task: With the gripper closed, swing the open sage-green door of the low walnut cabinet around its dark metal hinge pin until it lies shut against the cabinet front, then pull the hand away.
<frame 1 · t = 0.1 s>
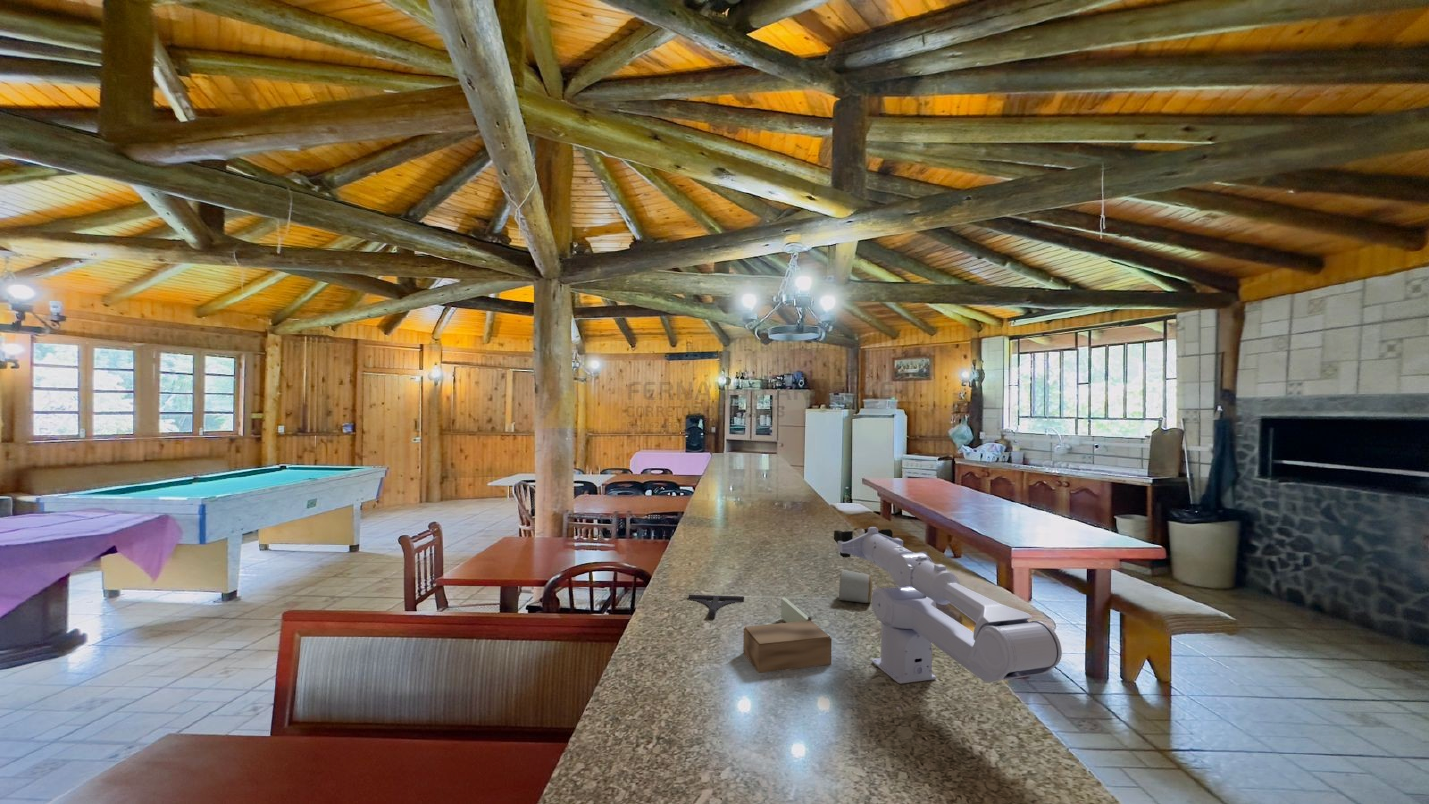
hand: (850, 534, 125), 22 cm above the countertop, tool horizontal, fingers open, 7 cm apart
cabinet: (786, 658, 110), on the countertop
door: (797, 618, 125), point 3 cm above the countertop, hinge at -90.0°
bracket: (713, 611, 138), on the countertop
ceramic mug: (854, 600, 146), on the countertop
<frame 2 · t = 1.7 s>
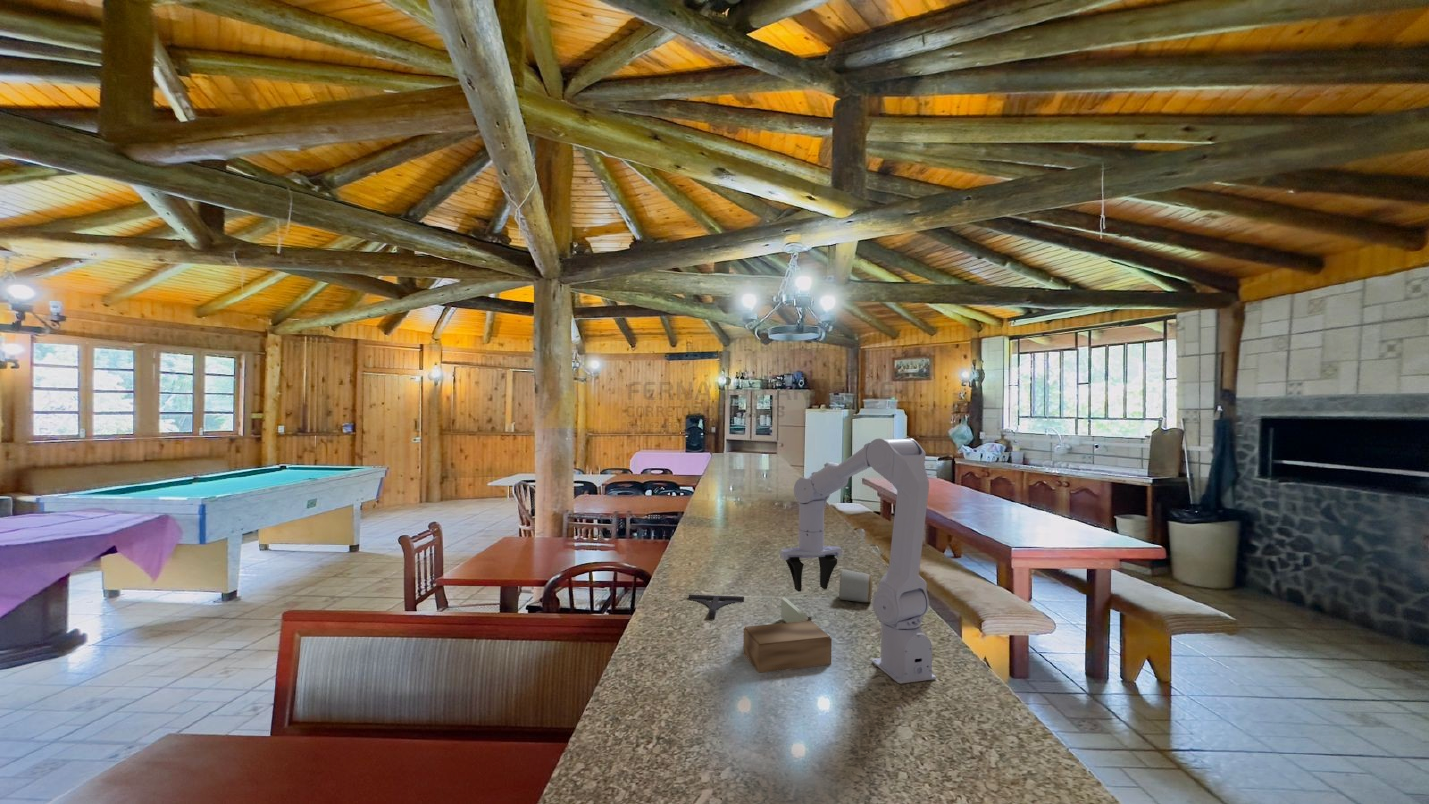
hand: (810, 589, 128), 8 cm above the countertop, tool pointing down, fingers open, 6 cm apart
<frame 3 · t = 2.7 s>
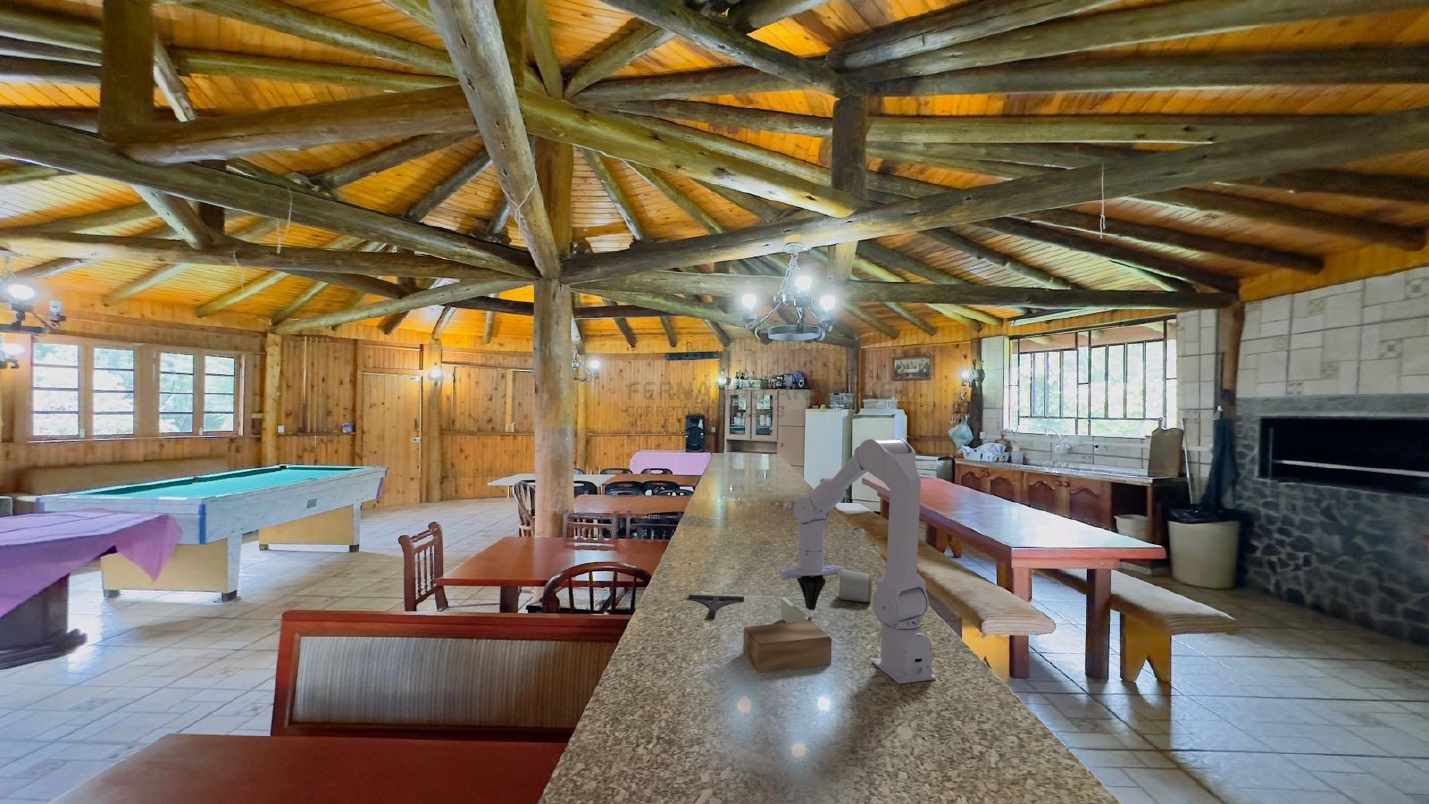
hand: (810, 608, 127), 4 cm above the countertop, tool pointing down, fingers closed
nothing on the countertop moved.
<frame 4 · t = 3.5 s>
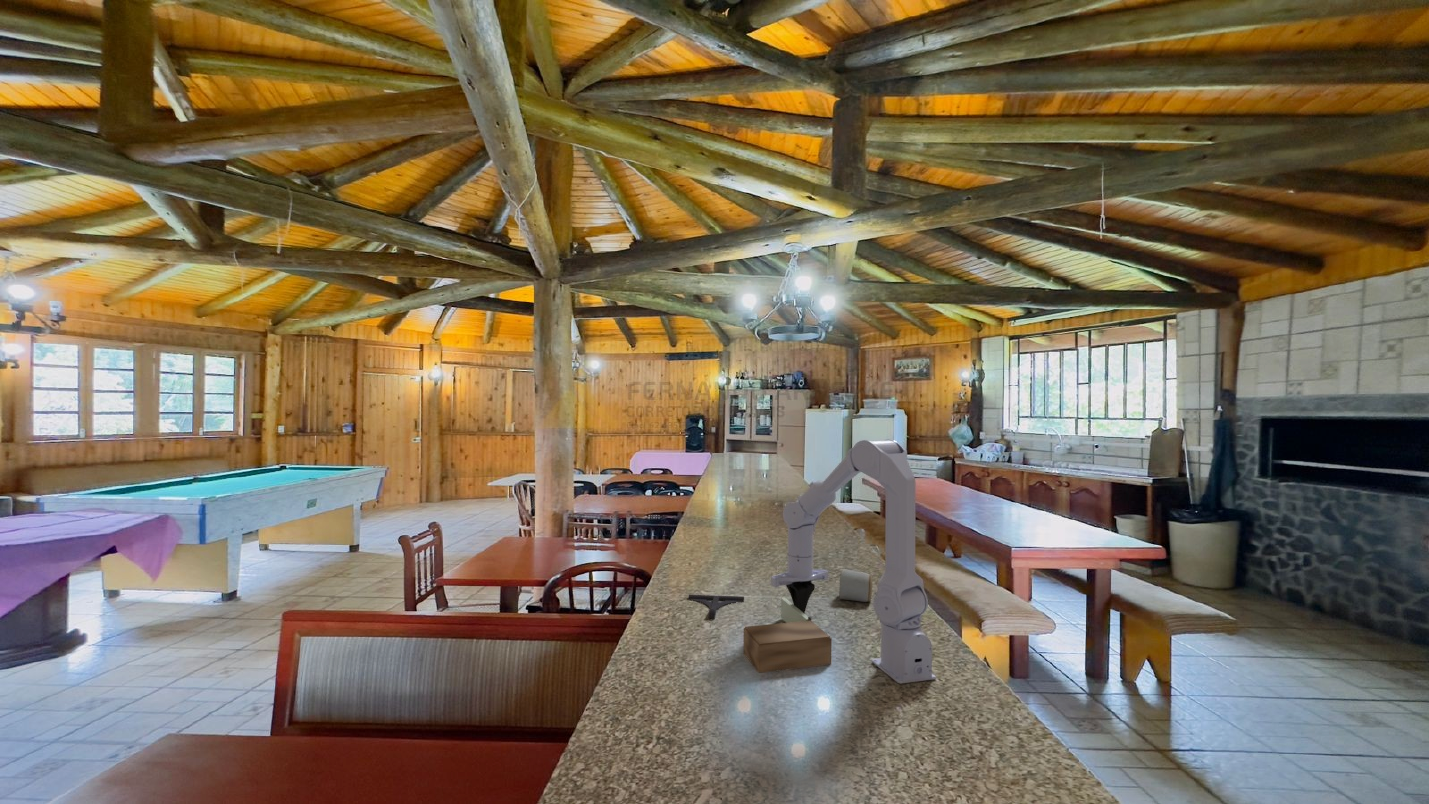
hand: (799, 614, 127), 3 cm above the countertop, tool pointing down, fingers closed
door: (797, 618, 125), point 3 cm above the countertop, hinge at -89.8°, touching gripper
everything else where it was.
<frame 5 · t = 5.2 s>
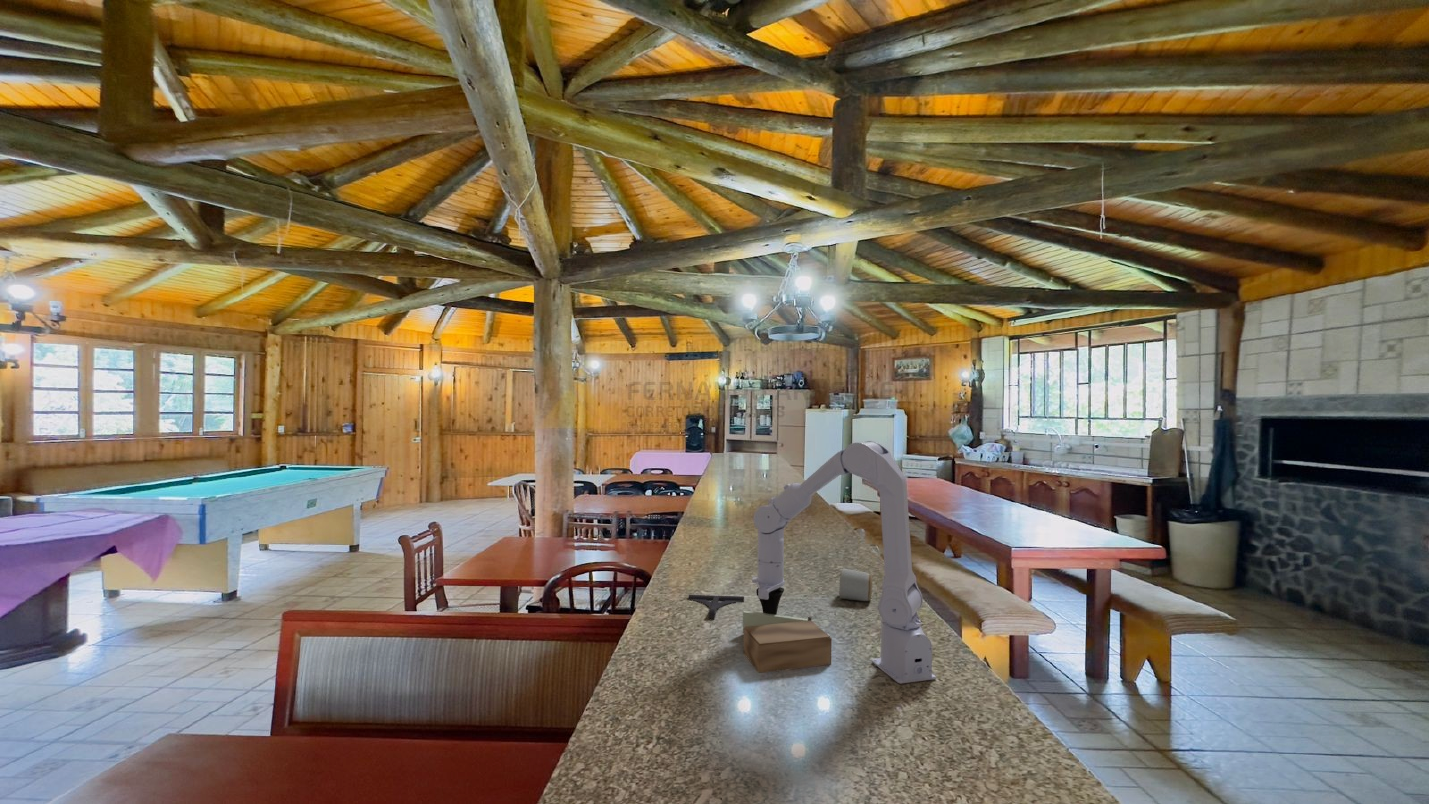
hand: (769, 622, 121), 3 cm above the countertop, tool pointing down, fingers closed
door: (775, 625, 120), point 3 cm above the countertop, hinge at -33.8°, touching gripper
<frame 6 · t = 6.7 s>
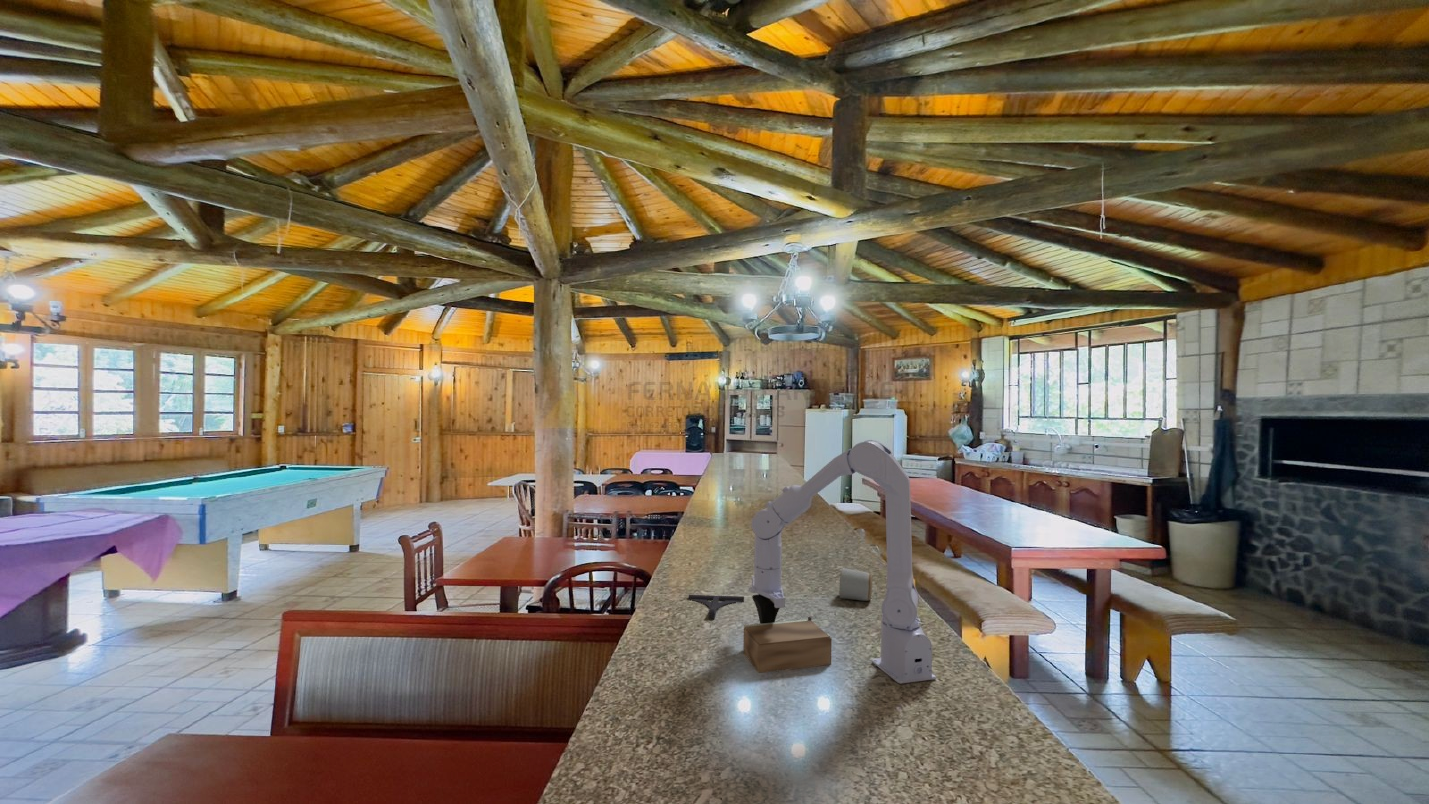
hand: (767, 630, 117), 3 cm above the countertop, tool pointing down, fingers closed
door: (775, 633, 116), point 3 cm above the countertop, hinge at -0.4°, touching gripper
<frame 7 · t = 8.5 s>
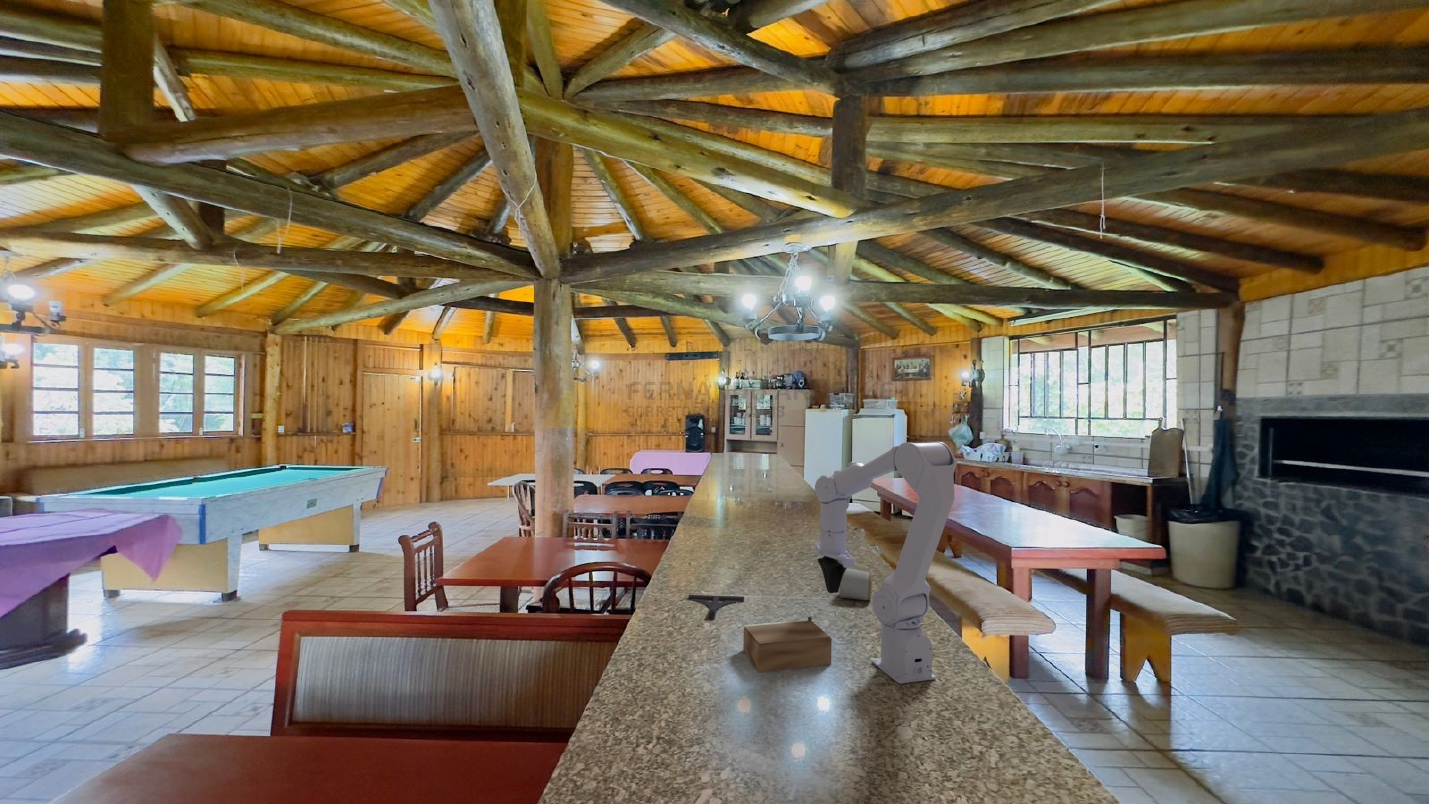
hand: (832, 591, 123), 9 cm above the countertop, tool pointing down, fingers closed
door: (775, 633, 116), point 3 cm above the countertop, hinge at -0.3°
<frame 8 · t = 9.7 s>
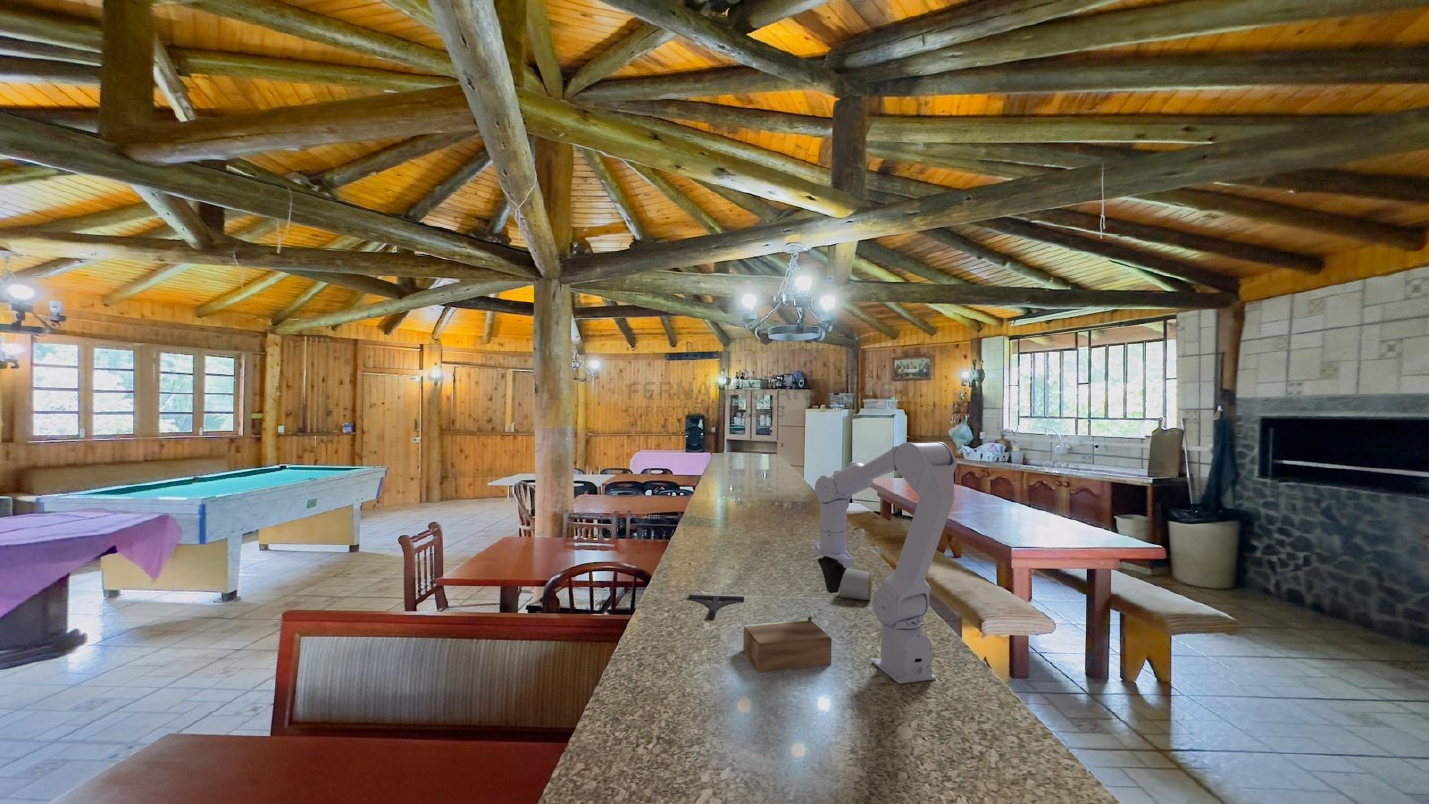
hand: (832, 591, 123), 9 cm above the countertop, tool pointing down, fingers closed
at the end: door at +0° (first picture: -90°); bracket moved 0.9 cm from its start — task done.
